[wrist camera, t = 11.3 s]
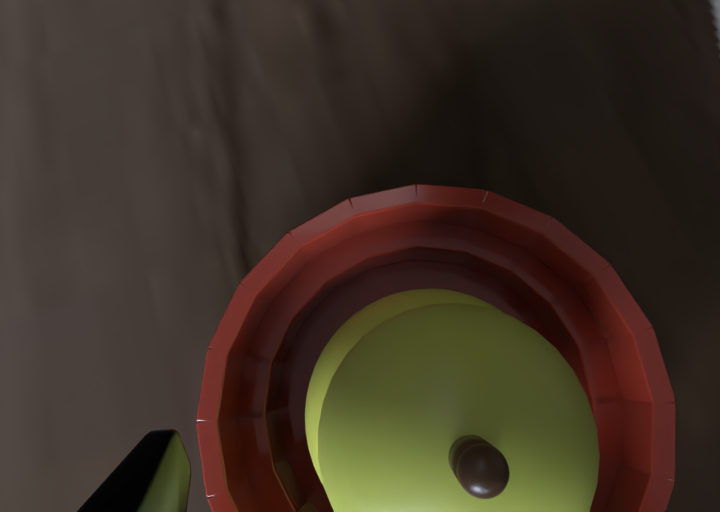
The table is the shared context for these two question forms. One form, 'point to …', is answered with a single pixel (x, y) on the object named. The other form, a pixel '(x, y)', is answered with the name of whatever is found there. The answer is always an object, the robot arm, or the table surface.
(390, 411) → the pear
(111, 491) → the robot arm
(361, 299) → the bowl
